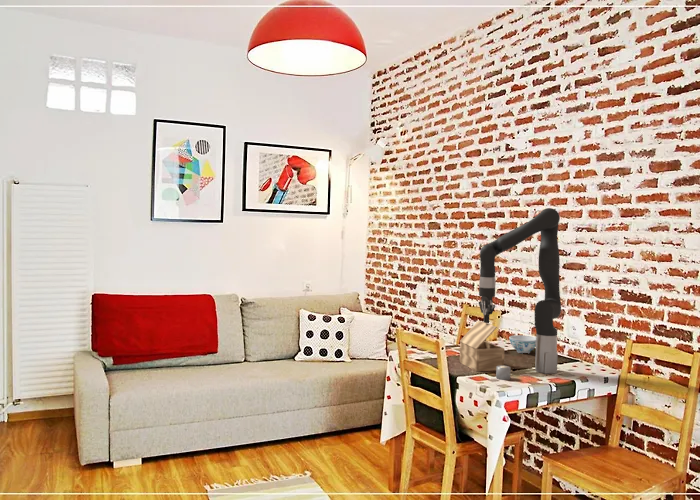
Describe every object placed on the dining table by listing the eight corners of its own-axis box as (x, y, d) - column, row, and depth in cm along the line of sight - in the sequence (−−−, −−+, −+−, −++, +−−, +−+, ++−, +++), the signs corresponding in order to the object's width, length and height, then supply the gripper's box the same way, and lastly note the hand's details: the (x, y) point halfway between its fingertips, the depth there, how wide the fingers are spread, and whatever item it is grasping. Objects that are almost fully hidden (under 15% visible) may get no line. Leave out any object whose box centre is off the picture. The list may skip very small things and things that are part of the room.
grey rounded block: (512, 379, 264) (513, 368, 263) (500, 380, 262) (500, 368, 262) (505, 376, 269) (506, 364, 269) (493, 376, 268) (494, 365, 268)
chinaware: (521, 356, 312) (521, 341, 311) (502, 350, 325) (503, 336, 325) (544, 354, 318) (544, 339, 317) (525, 348, 331) (525, 334, 331)
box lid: (497, 327, 279) (496, 326, 279) (476, 349, 277) (476, 348, 277) (479, 321, 297) (478, 320, 297) (460, 341, 295) (459, 341, 295)
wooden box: (503, 369, 281) (504, 348, 281) (476, 371, 278) (476, 349, 277) (485, 361, 299) (486, 341, 298) (459, 362, 295) (460, 342, 295)
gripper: (501, 287, 282) (500, 324, 282) (487, 285, 294) (486, 320, 295) (486, 288, 280) (485, 325, 280) (473, 285, 292) (472, 320, 293)
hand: (486, 322), depth 288 cm, fingers closed
